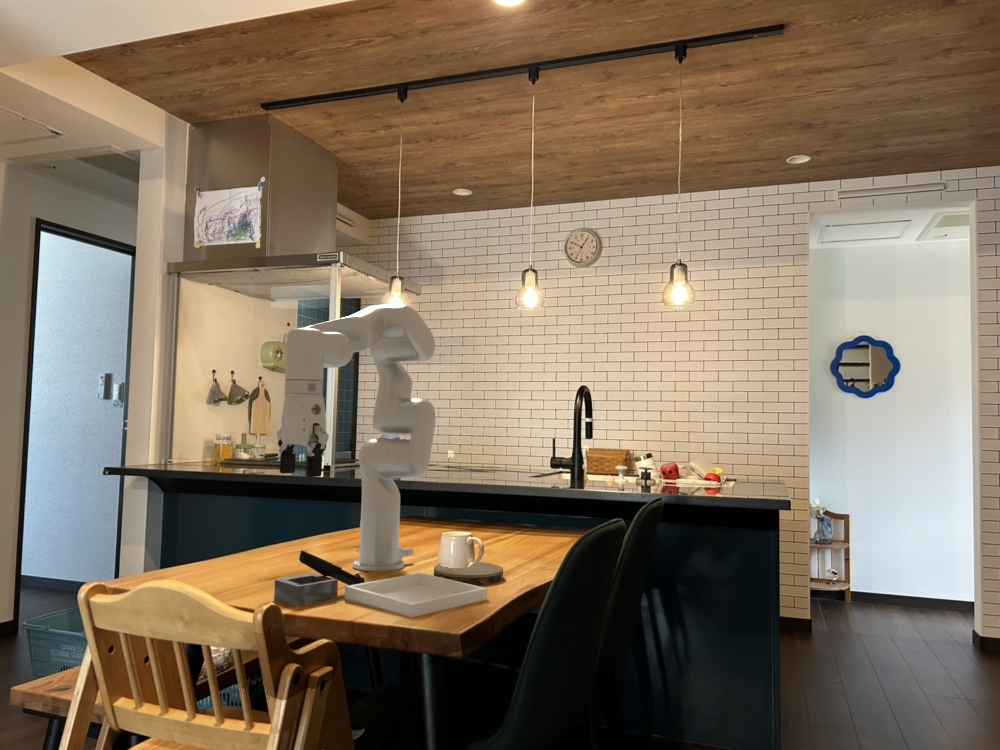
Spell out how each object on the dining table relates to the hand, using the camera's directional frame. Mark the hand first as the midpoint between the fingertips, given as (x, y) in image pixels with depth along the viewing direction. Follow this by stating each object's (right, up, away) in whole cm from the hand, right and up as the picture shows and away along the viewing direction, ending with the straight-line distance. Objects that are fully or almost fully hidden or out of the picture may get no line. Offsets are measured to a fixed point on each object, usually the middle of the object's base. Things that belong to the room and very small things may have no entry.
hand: (300, 474), depth 154 cm
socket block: (+2, -25, -2) cm, 25 cm away
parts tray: (+23, -25, -1) cm, 34 cm away
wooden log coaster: (+33, -27, +21) cm, 48 cm away
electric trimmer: (-1, -18, -1) cm, 18 cm away
